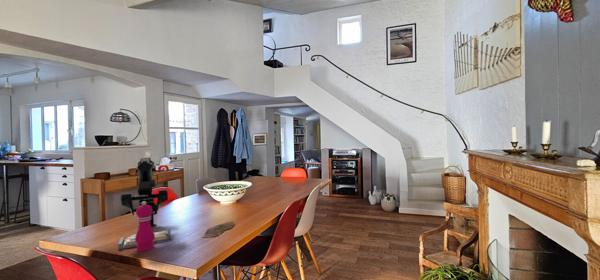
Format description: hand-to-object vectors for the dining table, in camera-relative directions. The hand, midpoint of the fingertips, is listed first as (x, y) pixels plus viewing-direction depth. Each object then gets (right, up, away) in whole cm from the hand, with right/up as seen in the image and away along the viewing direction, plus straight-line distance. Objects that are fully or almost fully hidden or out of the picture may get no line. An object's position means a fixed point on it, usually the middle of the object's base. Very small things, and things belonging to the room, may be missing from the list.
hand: (145, 213), depth 120 cm
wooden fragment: (+29, -13, +16) cm, 36 cm away
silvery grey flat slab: (-1, -13, +2) cm, 13 cm away
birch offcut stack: (-1, -12, +2) cm, 13 cm away
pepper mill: (+3, -14, -6) cm, 15 cm away
